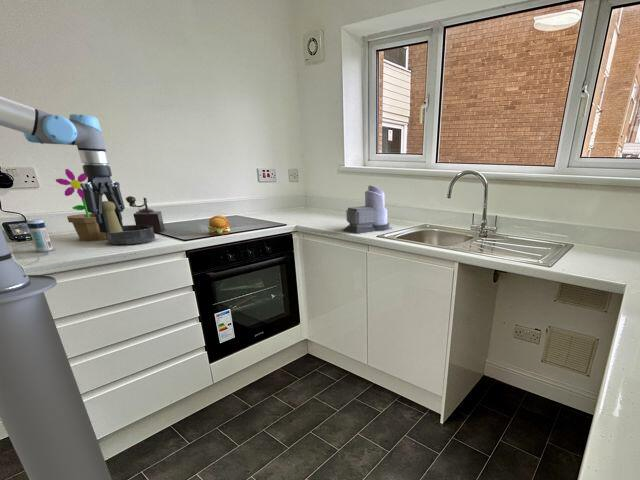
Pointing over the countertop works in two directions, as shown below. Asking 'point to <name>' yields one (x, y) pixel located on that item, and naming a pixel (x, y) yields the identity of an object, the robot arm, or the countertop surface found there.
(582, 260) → the countertop surface
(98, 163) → the robot arm
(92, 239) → the flowerpot
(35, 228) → the white cylindrical container
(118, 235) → the dark grey shallow bowl
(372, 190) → the juicer
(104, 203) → the cork
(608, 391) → the countertop surface
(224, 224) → the cheeseburger
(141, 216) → the brown coffee grinder
